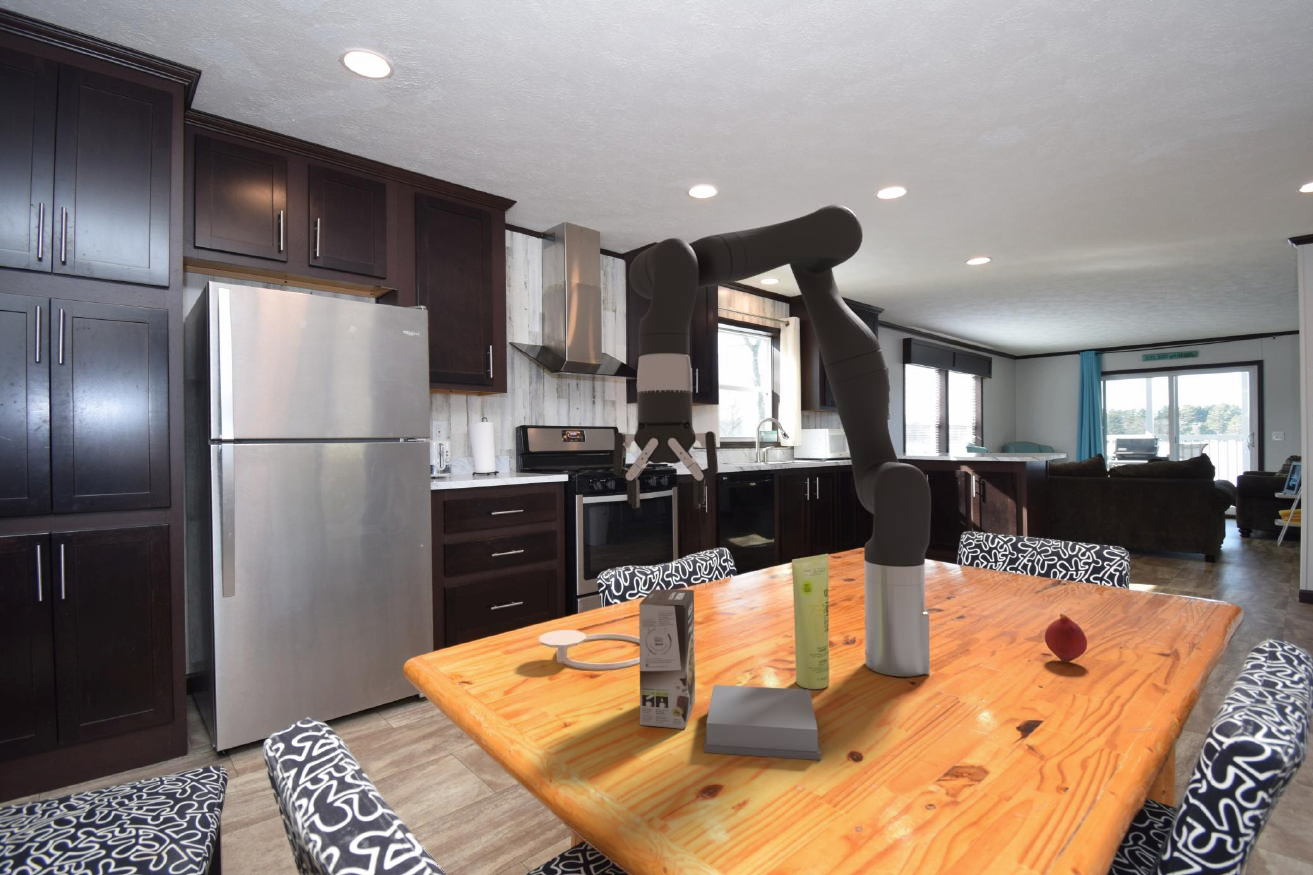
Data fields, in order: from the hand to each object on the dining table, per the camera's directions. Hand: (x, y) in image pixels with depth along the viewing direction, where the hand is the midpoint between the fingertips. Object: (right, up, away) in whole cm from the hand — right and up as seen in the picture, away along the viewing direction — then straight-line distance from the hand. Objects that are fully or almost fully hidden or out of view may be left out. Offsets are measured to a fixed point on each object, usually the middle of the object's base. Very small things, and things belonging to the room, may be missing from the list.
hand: (665, 507), depth 88 cm
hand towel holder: (-12, -29, +24) cm, 39 cm away
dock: (+12, -28, -6) cm, 31 cm away
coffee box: (0, -28, 0) cm, 28 cm away
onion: (+66, -28, +18) cm, 74 cm away
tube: (+22, -28, +9) cm, 37 cm away
